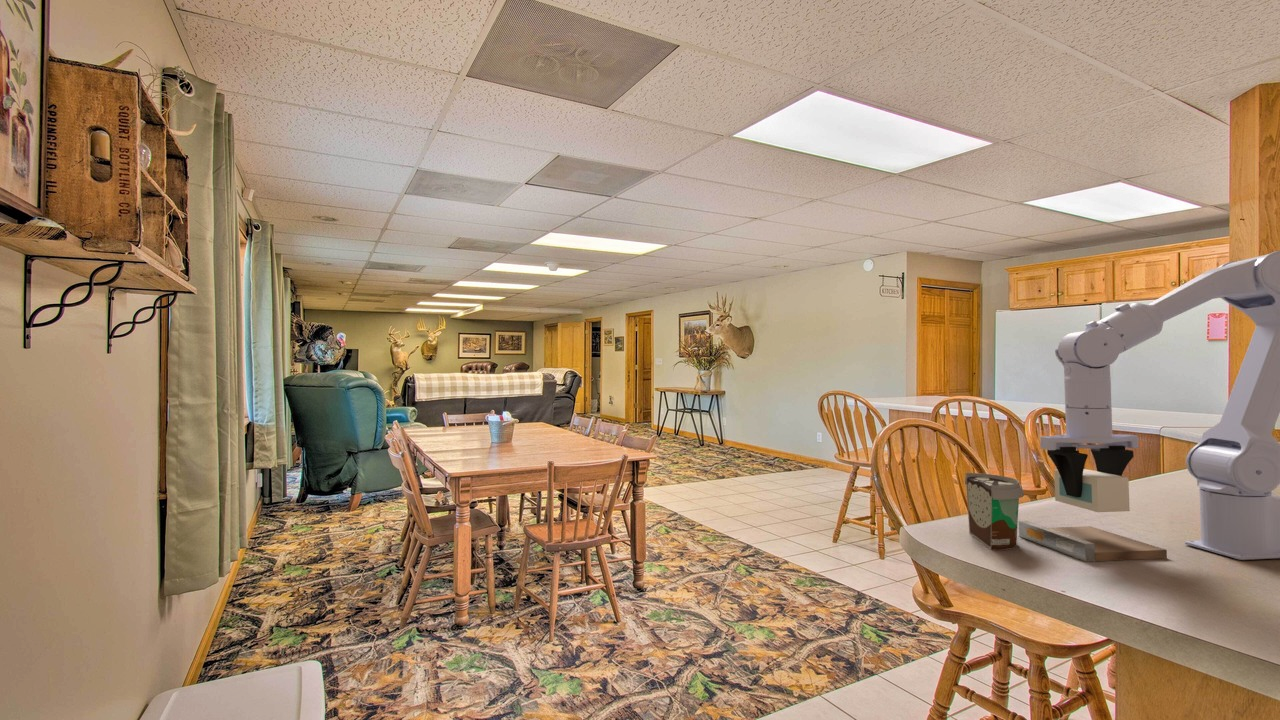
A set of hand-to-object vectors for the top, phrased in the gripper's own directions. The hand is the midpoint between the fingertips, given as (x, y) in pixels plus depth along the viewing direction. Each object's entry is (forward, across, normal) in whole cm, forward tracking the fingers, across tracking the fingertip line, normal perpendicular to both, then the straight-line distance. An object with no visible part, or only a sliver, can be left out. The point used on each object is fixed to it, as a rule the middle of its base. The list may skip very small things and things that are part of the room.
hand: (1090, 495), depth 90 cm
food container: (+8, +12, -4) cm, 15 cm away
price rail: (+8, +6, 0) cm, 10 cm away
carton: (+2, 0, 0) cm, 2 cm away
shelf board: (+8, 0, 0) cm, 8 cm away
